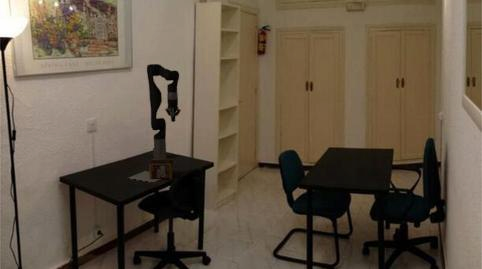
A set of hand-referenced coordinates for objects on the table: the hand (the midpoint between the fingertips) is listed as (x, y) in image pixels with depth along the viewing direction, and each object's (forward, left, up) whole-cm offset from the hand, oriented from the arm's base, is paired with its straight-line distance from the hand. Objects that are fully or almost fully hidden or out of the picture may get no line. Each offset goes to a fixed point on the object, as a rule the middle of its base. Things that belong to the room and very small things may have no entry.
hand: (173, 121), depth 352 cm
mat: (-2, -28, -35) cm, 45 cm away
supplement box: (+1, -16, -30) cm, 34 cm away
